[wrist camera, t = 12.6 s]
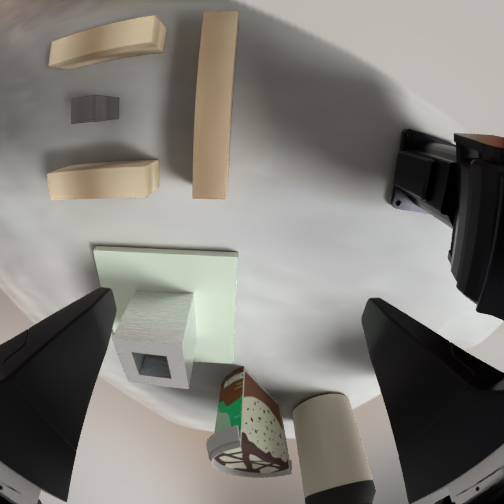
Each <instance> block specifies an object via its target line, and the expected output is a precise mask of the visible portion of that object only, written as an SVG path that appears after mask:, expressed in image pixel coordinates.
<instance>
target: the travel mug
mask: <svg viewBox="0 0 504 504" xmlns="http://www.w3.org/2000/svg"><path fill="white" fill-rule="evenodd" d="M292 416H293V422H294V429H295V435H296V442H297V448H298V455H299V462H300V467H301V468H300V469H301V475H302V482H303V489H304V496H305V503H306V504H372V501H373V498H374V495H375V492H376V490H375V486H374V483H373V479H372V475H371V472H370V468H369V464H368V461H367V457H366V454H365V450H364V447H363V443H362V440H361V437H360V433H359V430H358V427H357V423H356V420H355V417H354V414H353V410H352V407H351V404H350V401H349V399H348V397H346V396H345V395H342V394H325V395H320V396H316V397H313V398H311V399H308V400H306V401H304V402H302V403H301V404H299V405H298V406H297V407H296V408H295V409H294V411H293V413H292Z"/></svg>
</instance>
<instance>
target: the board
mask: <svg viewBox="0 0 504 504" xmlns="http://www.w3.org/2000/svg"><path fill="white" fill-rule="evenodd" d="M93 252H94V258H95V263H96V267H97V272H98V276H99V281H100V285H101V287H106V288H111V289H112V291H113V295H114V299H115V303H116V307H117V312H116V317H115V320H114V324H113V328H112V329H113V332H114V333H115V331H116V328H117V326H118V324H119V322H120V320H121V318H122V316H123V314H124V312H125V310H126V308H127V306H128V304H129V302H130V300H131V299H132V297H133V295H134V293H135V291H136V289H138V290H152V291H167V292H185V293H194V305H195V318H196V330H197V341H196V347H195V353H194V360H193V361H194V362H208V363H228V364H233V362H234V336H235V312H236V290H237V269H238V252H219V251H197V250H174V249H152V248H129V247H107V246H97V247H96V248H95V249H94V250H93Z"/></svg>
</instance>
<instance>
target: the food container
mask: <svg viewBox="0 0 504 504" xmlns="http://www.w3.org/2000/svg"><path fill="white" fill-rule="evenodd" d="M206 445H207V450H208V455H209V459H210V461H211V462H212V465H213V466H214V467H215V468H216V469H218V470H219V471H221V472H224V473H227V474H231V475H235V476H241V477H253V478H261V477H262V478H264V477H277V476H284V475H289V474H291V470H292V464H291V460H289V455H288V449H287V443H286V437H285V431H284V425H283V419H282V414H281V408H280V404H279V403H278V402H277V401H276V400H275V399H274V398H273V397H272V396H271V395H270V394H269V393H268V392H267V391H266V389H265V388H264V387H263V386H262V385H261V384H260V383H259V382H258V381H257V380H256V379H255V378H254V377H253V376H252V375H251V374H250V373H249V372H248V370H247V369H246V368H245V367H242V368H239V369H237V370H235V371H233V372H232V373H231V374H229V375H228V376H227V377H226V378H225V380H224V381H223V383H222V386H221V393H220V399H219V406H218V413H217V419H216V426H215V433H214V434H213V435H212V436H210V437H209V439H208V440H207V443H206Z"/></svg>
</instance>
